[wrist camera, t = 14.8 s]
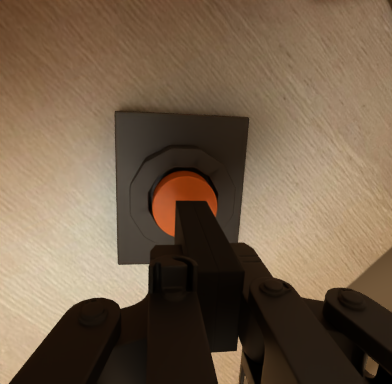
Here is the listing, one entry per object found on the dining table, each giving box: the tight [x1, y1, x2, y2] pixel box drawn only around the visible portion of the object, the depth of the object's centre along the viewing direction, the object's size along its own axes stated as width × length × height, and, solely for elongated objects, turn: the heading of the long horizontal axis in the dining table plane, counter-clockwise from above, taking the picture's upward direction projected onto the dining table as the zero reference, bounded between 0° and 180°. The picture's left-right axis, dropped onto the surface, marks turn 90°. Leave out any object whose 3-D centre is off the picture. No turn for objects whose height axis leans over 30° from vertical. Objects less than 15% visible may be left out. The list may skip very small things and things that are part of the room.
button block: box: [115, 111, 249, 265], centre depth 21 cm, size 11×9×4 cm
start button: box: [152, 171, 217, 237], centre depth 19 cm, size 4×4×2 cm
